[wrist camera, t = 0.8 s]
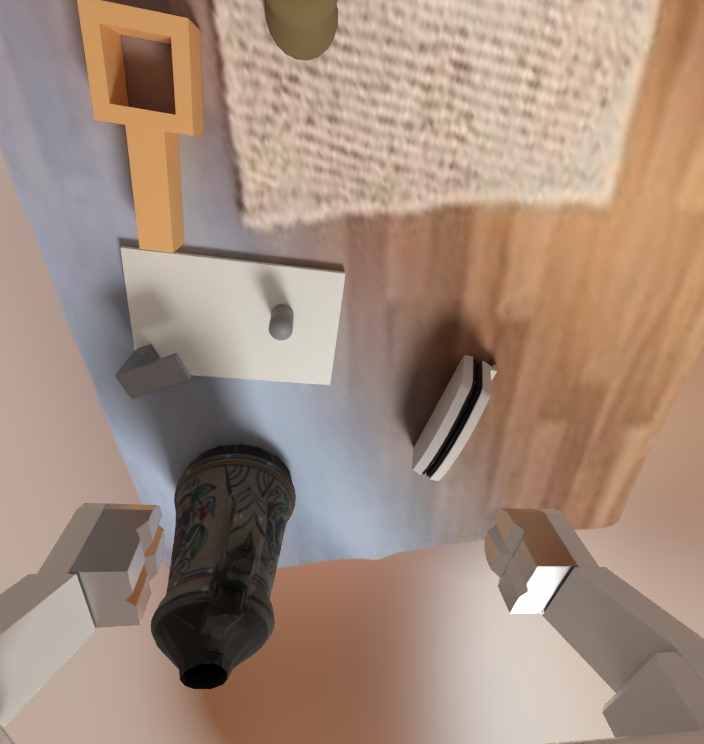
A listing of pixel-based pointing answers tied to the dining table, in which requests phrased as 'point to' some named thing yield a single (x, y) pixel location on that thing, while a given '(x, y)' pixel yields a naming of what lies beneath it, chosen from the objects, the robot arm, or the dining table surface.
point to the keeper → (151, 371)
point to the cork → (302, 26)
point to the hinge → (453, 418)
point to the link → (144, 127)
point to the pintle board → (235, 314)
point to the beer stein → (223, 562)
